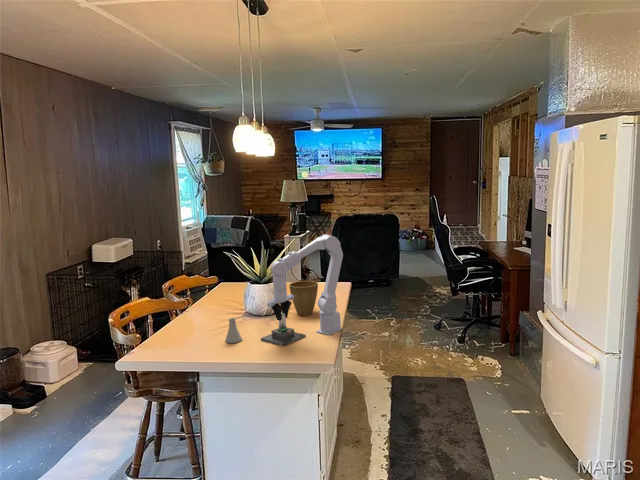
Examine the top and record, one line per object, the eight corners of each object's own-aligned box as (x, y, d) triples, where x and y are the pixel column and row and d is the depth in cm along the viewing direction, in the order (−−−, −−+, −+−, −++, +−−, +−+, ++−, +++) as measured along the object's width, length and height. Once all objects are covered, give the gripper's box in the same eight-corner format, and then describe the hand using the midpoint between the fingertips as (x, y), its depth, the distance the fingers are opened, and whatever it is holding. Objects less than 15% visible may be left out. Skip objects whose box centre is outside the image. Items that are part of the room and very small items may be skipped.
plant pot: (307, 319, 239) (305, 288, 237) (285, 315, 248) (283, 285, 246) (325, 312, 251) (323, 282, 249) (303, 308, 260) (301, 279, 258)
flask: (222, 341, 214) (220, 319, 213) (236, 337, 219) (234, 315, 218) (231, 345, 209) (229, 322, 208) (245, 340, 214) (243, 318, 213)
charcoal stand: (283, 331, 224) (282, 323, 223) (305, 336, 214) (305, 328, 214) (260, 340, 213) (260, 331, 213) (283, 346, 204) (282, 337, 203)
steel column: (282, 328, 215) (281, 311, 214) (288, 329, 213) (287, 313, 212) (277, 330, 213) (276, 313, 212) (282, 332, 211) (281, 314, 210)
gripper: (285, 284, 219) (287, 313, 220) (261, 291, 208) (263, 321, 210) (296, 286, 214) (298, 315, 216) (272, 293, 203) (275, 324, 205)
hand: (282, 318), depth 212 cm, fingers closed on steel column, 3 cm apart
